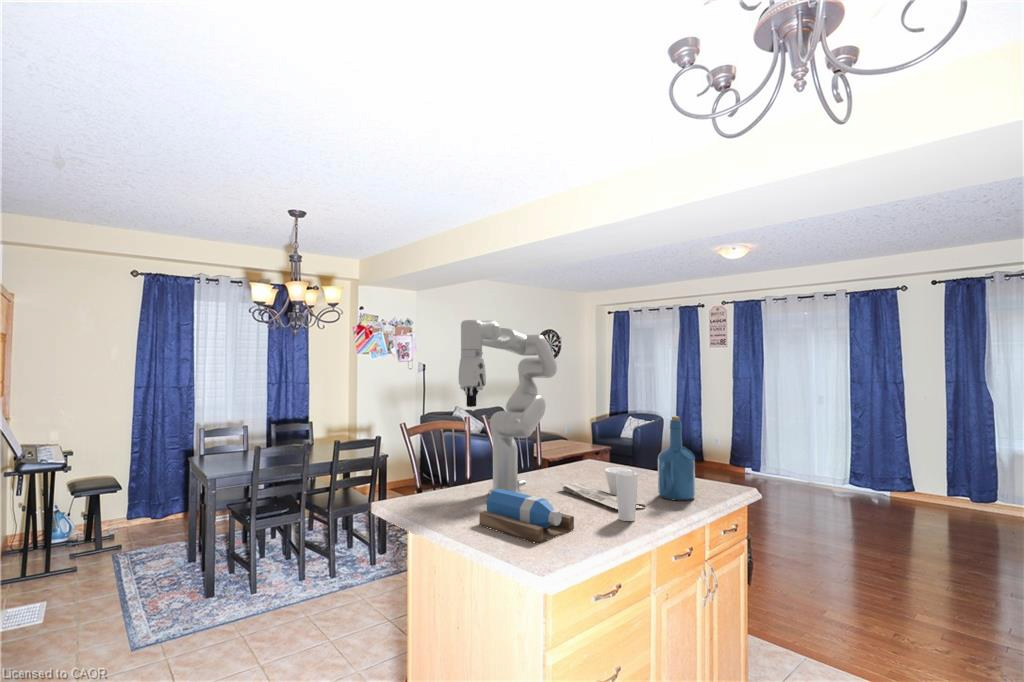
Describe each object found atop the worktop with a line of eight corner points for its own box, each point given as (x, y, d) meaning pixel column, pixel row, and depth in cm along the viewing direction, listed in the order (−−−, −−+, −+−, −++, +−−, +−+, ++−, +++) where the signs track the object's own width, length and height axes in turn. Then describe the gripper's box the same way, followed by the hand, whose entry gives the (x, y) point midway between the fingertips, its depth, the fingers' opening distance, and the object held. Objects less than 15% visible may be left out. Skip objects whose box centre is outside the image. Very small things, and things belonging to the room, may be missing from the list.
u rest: (516, 513, 175) (516, 501, 175) (573, 529, 158) (573, 516, 159) (479, 525, 163) (479, 512, 163) (537, 544, 146) (537, 529, 146)
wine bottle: (651, 496, 196) (650, 416, 197) (670, 490, 205) (669, 413, 206) (684, 504, 186) (683, 419, 187) (703, 497, 195) (701, 416, 196)
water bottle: (490, 523, 168) (552, 541, 151) (482, 499, 166) (544, 514, 149) (508, 506, 175) (569, 522, 158) (501, 482, 172) (562, 495, 156)
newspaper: (645, 509, 181) (645, 499, 181) (619, 515, 175) (618, 504, 175) (581, 488, 211) (581, 479, 211) (556, 492, 205) (556, 483, 205)
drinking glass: (629, 515, 173) (629, 469, 173) (642, 521, 166) (641, 474, 167) (612, 517, 170) (611, 471, 171) (623, 524, 164) (623, 475, 164)
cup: (603, 496, 196) (603, 472, 196) (606, 490, 206) (606, 466, 206) (630, 498, 193) (630, 473, 193) (632, 492, 203) (632, 468, 203)
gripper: (493, 354, 183) (493, 407, 183) (465, 354, 194) (465, 404, 193) (477, 354, 178) (477, 408, 177) (449, 354, 188) (449, 406, 188)
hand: (471, 406), depth 185 cm, fingers closed
